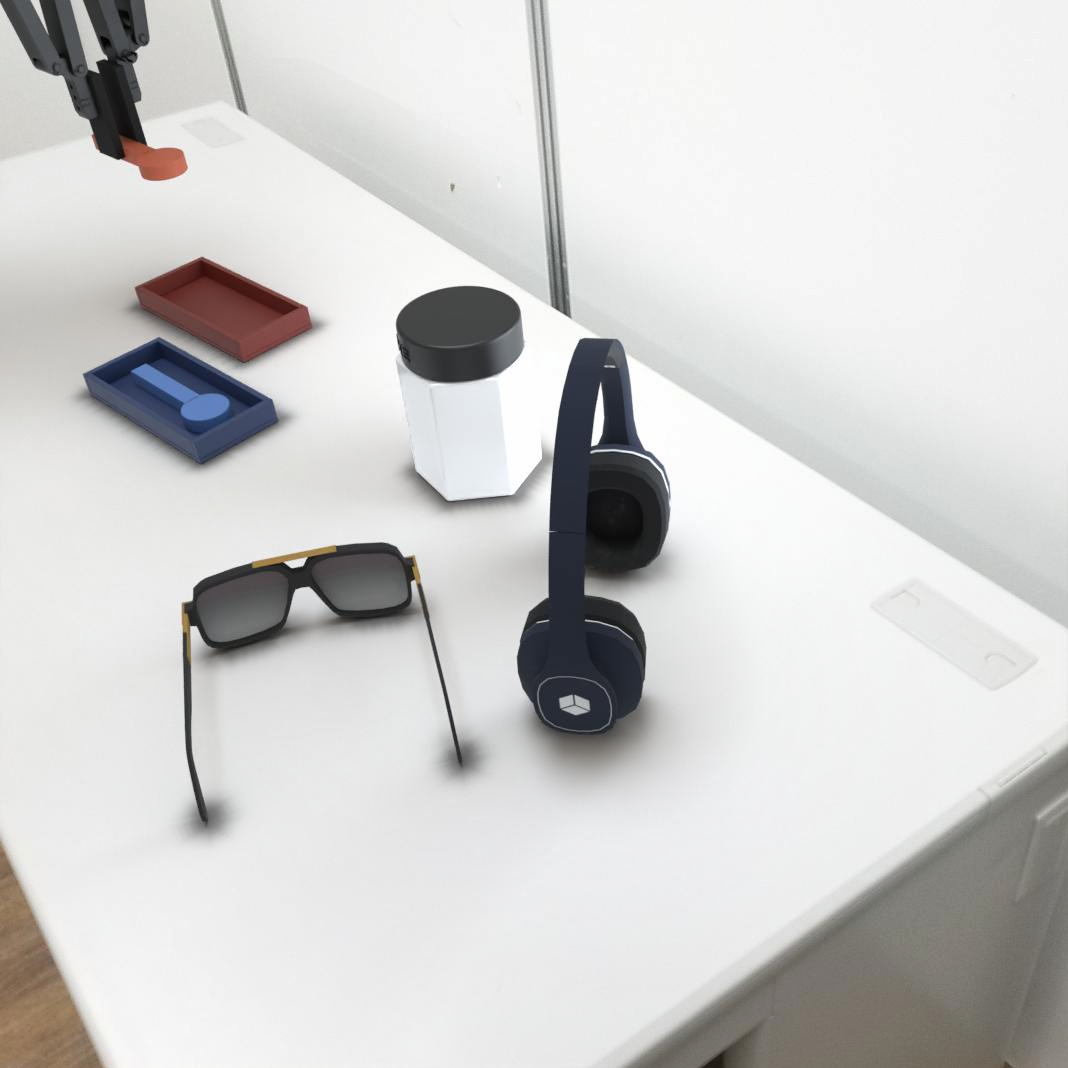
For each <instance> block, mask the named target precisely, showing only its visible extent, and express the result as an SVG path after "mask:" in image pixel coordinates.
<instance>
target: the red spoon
mask: <svg viewBox="0 0 1068 1068" xmlns="http://www.w3.org/2000/svg"><path fill="white" fill-rule="evenodd" d="M119 136H120V139H121V142H122V145H123V150H124V154H125V158H123V159H120V161H124V162H126V163H128V164H131V165H134V166H136V167H138V170H139V173H140V176H141V178H142V179H143V180H146V181H151V182H162V181H168V180H171V179H175V178H178V177H180V176H182V175H184V174H185V173H186V172H187V171H188V170H189V169H188V168H189V166H188V163H187V159H186V155H185V152H184V150H182V149H180V148H177V147H160V148H154V147H152V146H149V145H148V144H147V145H148V146H147V145H144V144H142V143H139V142H136V141H134V140H131V139H129V138H126V137H124V136H121V135H119ZM91 138H92V142H93V144H94V147H95V149H96V150H97V151H99V148H98V145H97V142H96V139H95V136H94V133H93V134H91Z"/></svg>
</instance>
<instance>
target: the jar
mask: <svg viewBox="0 0 1068 1068" xmlns="http://www.w3.org/2000/svg"><path fill="white" fill-rule="evenodd" d="M395 328H396V342H397V347H398V348H397V349H398V351H399V354H397V356H396V357H395V359H394V360H395V365H396V370H397V376H398V381H399V388H400V391H401V392H400V393H401V398H402V403H403V408H404V414H405V419H406V425H407V432H408V436H409V441H410V442H409V443H410V446H411V447H410V448H411V452H412V457H413V462H414V463H413V464H414V468H415V471H416V472H417V474H419V475H420V476H421V477H422V478H423V479H424V480H425V481H426V482H427V483H428V484H429V485H431V487H432V488H434V489H435V490H436V491H437V492H438V493H439V494H440V495H441V496H442V497H443V498H444V499H445V500H446V501H448V502H454V501H455V502H456V501H465V500H474V499H485V498H495V497H504V496H505V497H506V496H513V495H514V494H515V493H516V492H517V490H518V489H519V488H520V486H522V484H523V483H524V482H525V480H526V479H527V478H528V476H529V475H530V474H531V473H532V471H533V470H534V469H535V467H537V466H538V464H539V463H540V462H541V460H542V459H543V454H542V443H541V434H540V424H539V423H540V422H539V413H538V403H537V392H536V384H535V383H536V382H535V381H536V380H535V372H534V363H533V362H534V361H533V352H532V345H531V344H530V343H529V342H528V341H526V339H524V329H523V328H524V327H523V318H522V310H521V307H520V305H519V303H518V302H517V301H516V300H515V299H514V298H513V297H512V296H511V295H509V294H507V293H505V292H504V291H501V290H498V289H495V288H492V287H487V286H480V285H457V286H449V287H443V288H439V289H435V290H432V291H429V292H426V293H424V294H421V295H419V296H417V297H415V298H414V299H412V300H411V301H409V302H408V303H407V304H406V305H405V306H403V308H402V309H401V310H400V311H399V313H398V315H397V317H396V320H395Z"/></svg>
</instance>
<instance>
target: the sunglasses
mask: <svg viewBox="0 0 1068 1068" xmlns="http://www.w3.org/2000/svg"><path fill="white" fill-rule="evenodd" d="M300 559H305V561H304V563H303V565H301V566H297V567H291V566H290V565H288V564H287V563H286V562H291V561H295V560H296V561H297V560H300ZM413 581H415V585H416V589H417V593H418V597H419V602H420V606H421V611H422V613H423V617H424V619H425V620H424V621H425V623H426V627H427V632H428V636H429V641H430V644H431V649H432V654H433V657H434V661H435V664H436V670H437V673H438V678H439V682H440V686H441V691H442V694H443V698H444V703H445V707H446V712H447V717H448V722H449V725H450V731H451V735H452V739H453V740H452V741H453V744H454V749H455V754H456V759H457V762H458V763H462V762H463V758H462V757H463V756H462V753H461V749H460V743H459V739H458V734H457V729H456V725H455V721H454V717H453V712H452V707H451V703H450V698H449V693H448V690H447V685H446V682H445V677H444V672H443V669H442V664H441V660H440V656H439V652H438V648H437V645H436V640H435V635H434V632H433V627H432V623H431V619H430V618H431V617H430V612H429V608H428V604H427V600H426V596H425V592H424V587H423V585H422V582H421V581H422V580H421V574H420V570H419V566H418V563H417V558H416V555H415V554H413V555H408V556H404V555H403V553H402V552H401V550H400V548H398V546H396V545H394V544H392V543H389V542H383V541H382V542H379V541H378V542H357V543H347V544H340V545H339V544H338V545H336V544H333V545H329V546H324V547H323V546H322V547H318V548H314V549H308V550H303V551H298V552H293V553H288V554H283V555H279V556H274V557H273V556H272V557H269V558H263V559H259V560H253V561H251V562H249V563H246V564H242V565H238V566H235V567H232V568H229V569H227V570H226V569H225V570H224V571H220V572H217V573H215V574H212V575H210V576H207V577H205V578H203V579H202V580H200V581H199V582H198V583H197V584H196V585H194V587H192V599H191V600H188V601H183V602H181V626H182V672H183V674H182V675H183V676H182V677H183V710H184V713H183V714H184V742H185V743H184V744H185V753H186V760H187V767H188V771H189V776H190V779H191V785H192V790H193V793H194V798H195V802H196V807H197V810H198V813H199V816H200V817H199V818H200V819H201V821H202V822H203V823H205V822H208V820H209V817H208V812H207V807H206V802H205V798H204V795H203V791H202V788H201V783H200V780H199V775H198V771H197V769H196V764H195V760H194V754H193V742H192V741H193V740H192V739H193V737H192V717H193V716H192V715H193V710H192V709H193V700H192V699H193V697H192V696H193V695H192V640H191V638H192V637H191V627H196V628H197V631H198V633H199V635H200V637H201V639H202V641H203V642H204V644H205V645H206V646H208V647H209V648H211V649H218V650H219V649H220V650H221V649H222V650H223V649H230V648H234V647H238V646H242V645H246V644H249V643H250V644H251V643H253V642H255V641H258V640H261V639H263V638H266V637H268V636H270V635H272V634H275V633H277V632H279V631H281V630H282V629H283V627H284V626H285V624H286V623H287V621H288V618H289V614H290V611H291V607H292V602H293V599H294V595H295V593H296V591H297V590H299V589H303V588H309V589H310V590H312V591H313V592H314V594H316V596H317V597H318V598H319V599H320V600H321V602H323V603H324V604H325V606H326V607H327V608H328V609H329V610H330V611H331V612H333V614H335V615H337V616H338V617H342V618H366V617H368V618H369V617H377V616H384V615H389V614H395V613H398V612H401V611H403V610H405V609H407V608H408V607H409V606H410V605H411V603H412V600H413V590H412V582H413Z"/></svg>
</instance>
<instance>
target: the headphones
mask: <svg viewBox="0 0 1068 1068" xmlns="http://www.w3.org/2000/svg"><path fill="white" fill-rule="evenodd" d="M630 376H631V375H630V369H629V365H628V360H627V355H626V352H625V348H624V346H623V344H622V342H621V341H620V340H619V339H618V338H605V337H604V338H603V337H602V338H601V337H599V338H598V337H583V338H580V339H579V340H578V342H577V344H576V346H575V348H574V350H573V353H572V355H571V358H570V361H569V364H568V368H567V372H566V376H565V381H564V384H563V389H562V394H561V398H560V402H559V408H558V413H557V422H556V430H555V438H554V447H553V457H552V467H551V469H552V470H551V482H550V483H551V484H550V495H549V496H550V497H549V518H548V519H549V522H548V524H549V525H548V559H547V560H548V564H547V565H548V574H547V575H548V576H547V577H548V581H547V582H548V583H547V584H548V588H547V589H548V592H547V593H548V597H546V598H544V599H543V600H541V601H540V602H538V604H536V605H535V606H534V607H533V608H532V609H530V610H529V611H528V614H527V617H526V620H525V624H524V626H523V629H522V632H521V635H520V639H519V647H518V650H517V655H516V666H517V667H516V668H517V674H518V678H519V682H520V685H521V689H522V691H524V694H525V695H526V696H527V698H528V699H529V701H530V702H531V703H532V705H533V708H534V711H535V714H536V715H537V717H538V719H539V720H540V722H541V723H542V724H543V725H545V726H547V727H548V728H549V729H551V730H553V731H557V732H561V733H565V734H572V735H573V734H574V735H587V736H588V735H590V736H591V735H600V734H605V733H607V732H608V731H610V730H611V729H613V728H614V726H615V724H616V722H617V720H620V719H623V718H624V717H626V716H628V715H629V714H631V713H633V712H634V711H636V710H637V708H638V706H639V704H640V701H641V699H642V696H643V690H644V682H645V680H646V664H647V642H646V636H645V632H644V630H643V628H642V626H641V624H640V622H639V620H638V617H636V614H635V613H634V612H633V611H632V610H630V609H629V608H627V607H626V606H625V605H624V604H622V603H621V602H620V601H617V600H613V599H609V598H606V597H603V596H596V595H594V596H593V595H588V594H585V593H586V590H585V589H586V588H585V587H586V586H585V584H586V582H585V581H586V579H585V578H586V566H588V567H590V568H593V569H596V570H602V571H603V570H604V571H609V572H616V571H617V572H620V571H621V572H622V571H623V572H624V571H626V572H627V571H635V570H638V569H642V568H646V567H648V566H649V565H650V564H652V563H653V561H655V560H656V559H657V558H658V557H659V556H660V554H661V552H662V549H663V547H664V543H665V540H666V537H667V535H668V533H669V527H670V520H671V519H670V518H671V509H672V508H671V507H672V497H671V486H670V485H671V484H670V480H669V477H668V474H667V471H666V469H665V465H664V464H663V463H662V462H661V461H660V460H659V459H658V458H657V457H656V456H655V455H654V453H652V451H648V450H646V449H645V448H644V446H643V444H642V441H641V440H640V437H639V435H638V430H637V426H636V422H635V416H634V404H633V394H632V383H631V377H630ZM600 387H601V394H602V406H603V423H602V433H601V436H600V438H599V440H598V443H597V444H595V445H592V441H593V433H594V426H595V425H594V423H595V418H596V417H595V416H596V409H597V404H598V399H599V391H600Z"/></svg>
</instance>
